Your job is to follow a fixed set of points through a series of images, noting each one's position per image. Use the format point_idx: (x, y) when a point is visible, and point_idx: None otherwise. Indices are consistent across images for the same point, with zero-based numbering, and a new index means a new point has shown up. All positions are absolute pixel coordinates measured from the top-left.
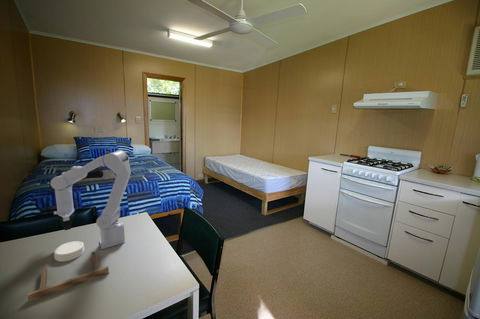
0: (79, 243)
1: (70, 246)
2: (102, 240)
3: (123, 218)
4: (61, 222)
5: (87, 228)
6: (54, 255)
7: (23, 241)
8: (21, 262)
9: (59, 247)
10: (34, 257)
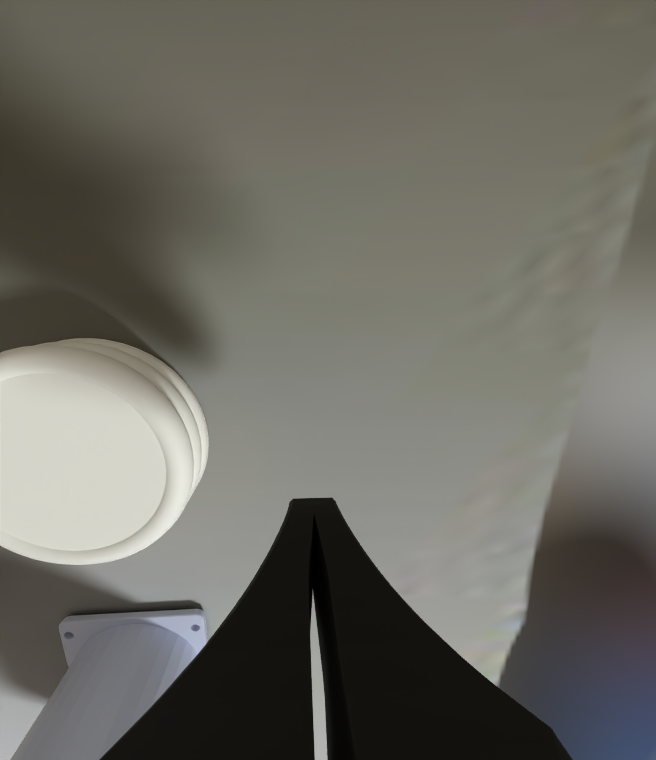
0: (107, 539)
1: (81, 476)
2: (75, 679)
3: None
4: (209, 641)
5: (477, 547)
6: (52, 343)
7: (601, 90)
8: (162, 84)
9: (109, 393)
10: (200, 189)
